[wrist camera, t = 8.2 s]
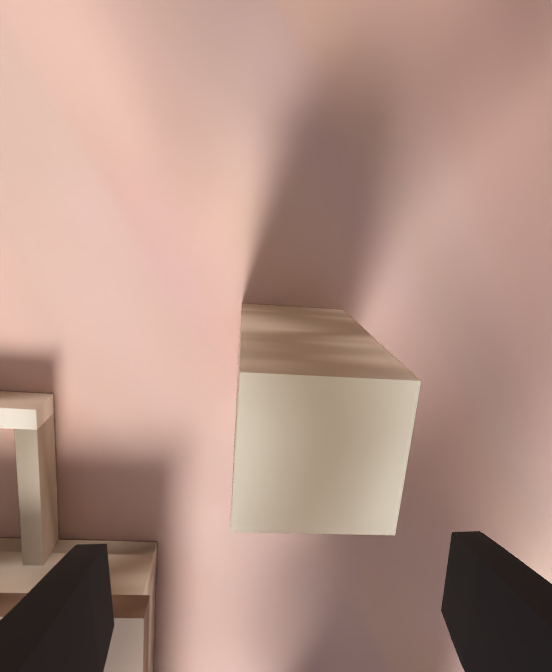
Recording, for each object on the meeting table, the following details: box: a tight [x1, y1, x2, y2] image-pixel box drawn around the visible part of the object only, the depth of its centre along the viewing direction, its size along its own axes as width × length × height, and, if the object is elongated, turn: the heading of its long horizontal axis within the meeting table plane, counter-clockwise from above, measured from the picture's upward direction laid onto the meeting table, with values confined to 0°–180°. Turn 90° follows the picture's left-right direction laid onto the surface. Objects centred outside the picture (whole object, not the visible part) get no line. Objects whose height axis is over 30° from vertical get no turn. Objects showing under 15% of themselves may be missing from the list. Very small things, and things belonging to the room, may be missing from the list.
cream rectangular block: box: [230, 303, 421, 535], centre depth 14 cm, size 4×4×8 cm
